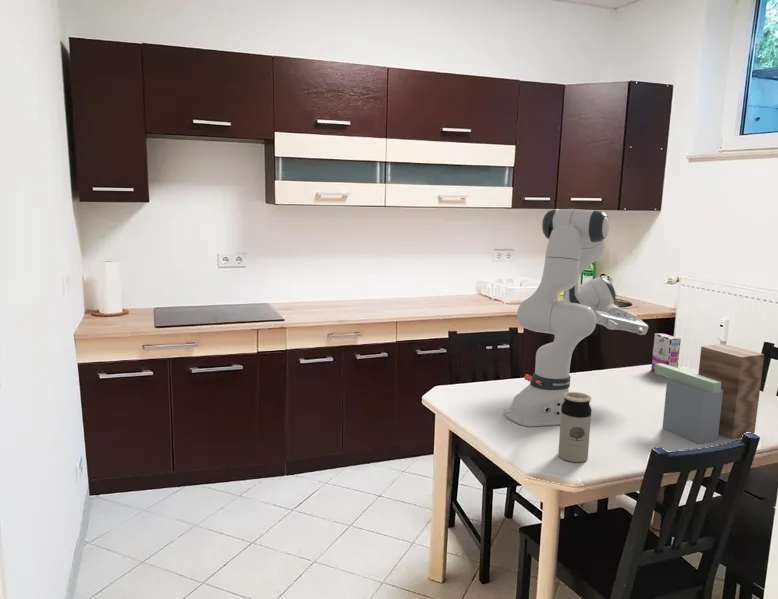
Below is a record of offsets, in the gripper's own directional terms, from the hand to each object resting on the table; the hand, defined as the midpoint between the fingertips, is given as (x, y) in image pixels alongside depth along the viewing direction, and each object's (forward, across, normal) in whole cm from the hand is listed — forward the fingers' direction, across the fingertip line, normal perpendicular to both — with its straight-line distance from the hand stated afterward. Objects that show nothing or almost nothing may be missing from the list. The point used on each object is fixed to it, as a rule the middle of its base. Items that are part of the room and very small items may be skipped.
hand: (629, 329), depth 210 cm
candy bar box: (-32, +41, +22) cm, 56 cm away
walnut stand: (+30, +26, +18) cm, 43 cm away
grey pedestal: (+33, +12, +20) cm, 41 cm away
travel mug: (+48, -30, +29) cm, 64 cm away
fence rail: (+28, +8, +6) cm, 30 cm away
